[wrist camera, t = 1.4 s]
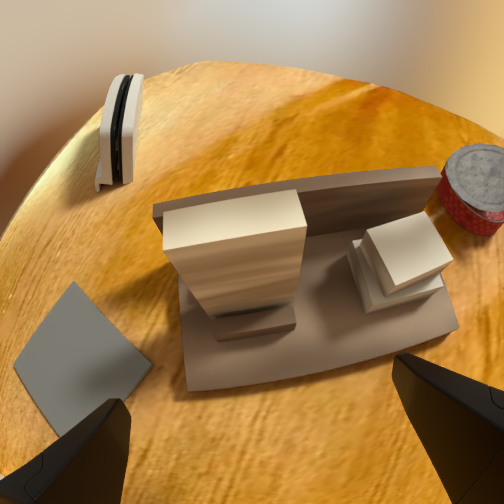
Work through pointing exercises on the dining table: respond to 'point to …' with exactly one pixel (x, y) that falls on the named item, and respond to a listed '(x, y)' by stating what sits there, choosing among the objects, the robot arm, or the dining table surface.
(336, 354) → the grey desk organizer
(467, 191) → the canned food
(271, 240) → the birch board
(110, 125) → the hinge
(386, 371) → the dining table surface
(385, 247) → the offcut stack
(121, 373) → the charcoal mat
